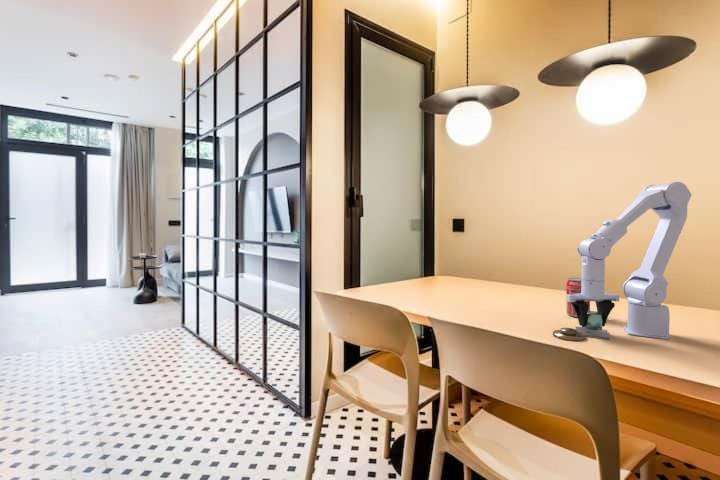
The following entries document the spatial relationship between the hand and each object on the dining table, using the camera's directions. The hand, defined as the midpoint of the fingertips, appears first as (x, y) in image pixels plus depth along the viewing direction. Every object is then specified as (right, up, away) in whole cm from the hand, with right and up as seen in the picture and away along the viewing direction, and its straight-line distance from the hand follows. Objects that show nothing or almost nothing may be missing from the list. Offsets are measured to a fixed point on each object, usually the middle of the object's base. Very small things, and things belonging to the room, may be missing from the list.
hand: (591, 325), depth 108 cm
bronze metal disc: (-8, -3, -2) cm, 9 cm away
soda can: (+8, -1, +20) cm, 21 cm away
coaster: (0, -2, 0) cm, 2 cm away
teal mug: (0, -1, 0) cm, 1 cm away
